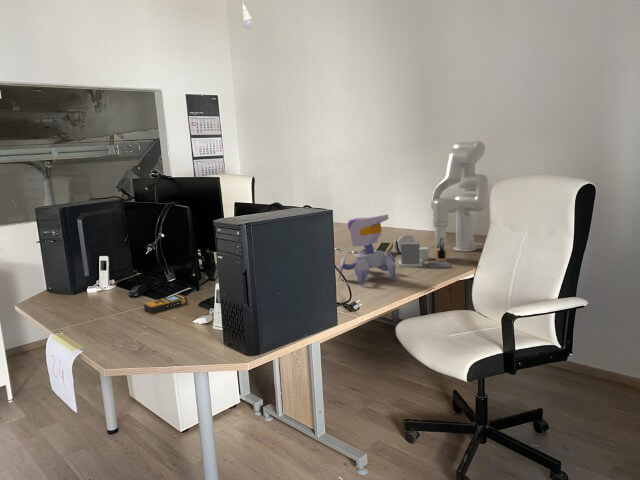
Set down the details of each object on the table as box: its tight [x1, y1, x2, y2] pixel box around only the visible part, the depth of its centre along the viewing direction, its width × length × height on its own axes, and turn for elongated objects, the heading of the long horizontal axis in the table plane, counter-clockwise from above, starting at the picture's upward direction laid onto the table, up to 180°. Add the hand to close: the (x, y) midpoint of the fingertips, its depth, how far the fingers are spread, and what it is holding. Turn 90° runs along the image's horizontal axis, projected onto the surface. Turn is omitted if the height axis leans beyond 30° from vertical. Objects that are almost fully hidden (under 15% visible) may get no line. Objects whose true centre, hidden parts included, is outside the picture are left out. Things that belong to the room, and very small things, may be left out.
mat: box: [427, 261, 451, 269], centre depth 245 cm, size 10×10×1 cm
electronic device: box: [143, 294, 188, 314], centre depth 203 cm, size 8×16×3 cm, turn 133°
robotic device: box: [338, 214, 397, 287], centre depth 226 cm, size 26×25×30 cm
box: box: [374, 241, 394, 259], centre depth 272 cm, size 8×22×5 cm, turn 160°
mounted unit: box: [397, 241, 424, 268], centre depth 250 cm, size 12×10×11 cm
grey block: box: [419, 246, 429, 261], centre depth 260 cm, size 5×5×6 cm
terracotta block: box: [435, 247, 447, 262], centre depth 256 cm, size 5×5×6 cm
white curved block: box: [393, 235, 416, 254], centre depth 282 cm, size 17×5×10 cm, turn 137°
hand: (440, 256), depth 256 cm, fingers open, 9 cm apart
